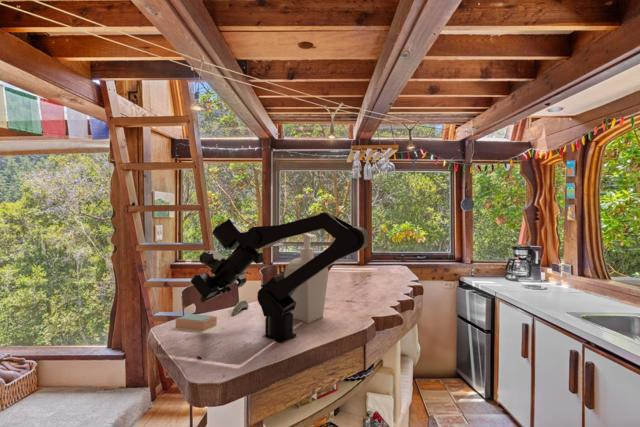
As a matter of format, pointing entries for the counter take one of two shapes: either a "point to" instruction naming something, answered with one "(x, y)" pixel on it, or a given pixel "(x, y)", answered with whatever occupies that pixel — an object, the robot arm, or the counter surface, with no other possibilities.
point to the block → (196, 322)
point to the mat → (209, 330)
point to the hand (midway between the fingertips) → (202, 301)
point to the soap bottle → (308, 286)
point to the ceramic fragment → (238, 308)
